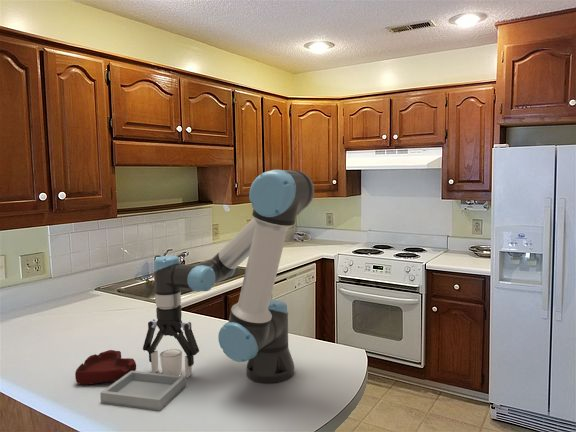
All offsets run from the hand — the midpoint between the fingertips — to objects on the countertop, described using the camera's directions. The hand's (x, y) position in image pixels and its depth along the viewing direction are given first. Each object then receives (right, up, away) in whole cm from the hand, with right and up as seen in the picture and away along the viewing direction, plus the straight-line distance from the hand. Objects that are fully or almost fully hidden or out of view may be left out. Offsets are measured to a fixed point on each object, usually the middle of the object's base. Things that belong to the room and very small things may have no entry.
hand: (171, 373), depth 142 cm
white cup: (0, 0, 0) cm, 0 cm away
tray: (-4, -1, -13) cm, 14 cm away
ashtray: (-21, -1, -1) cm, 21 cm away
